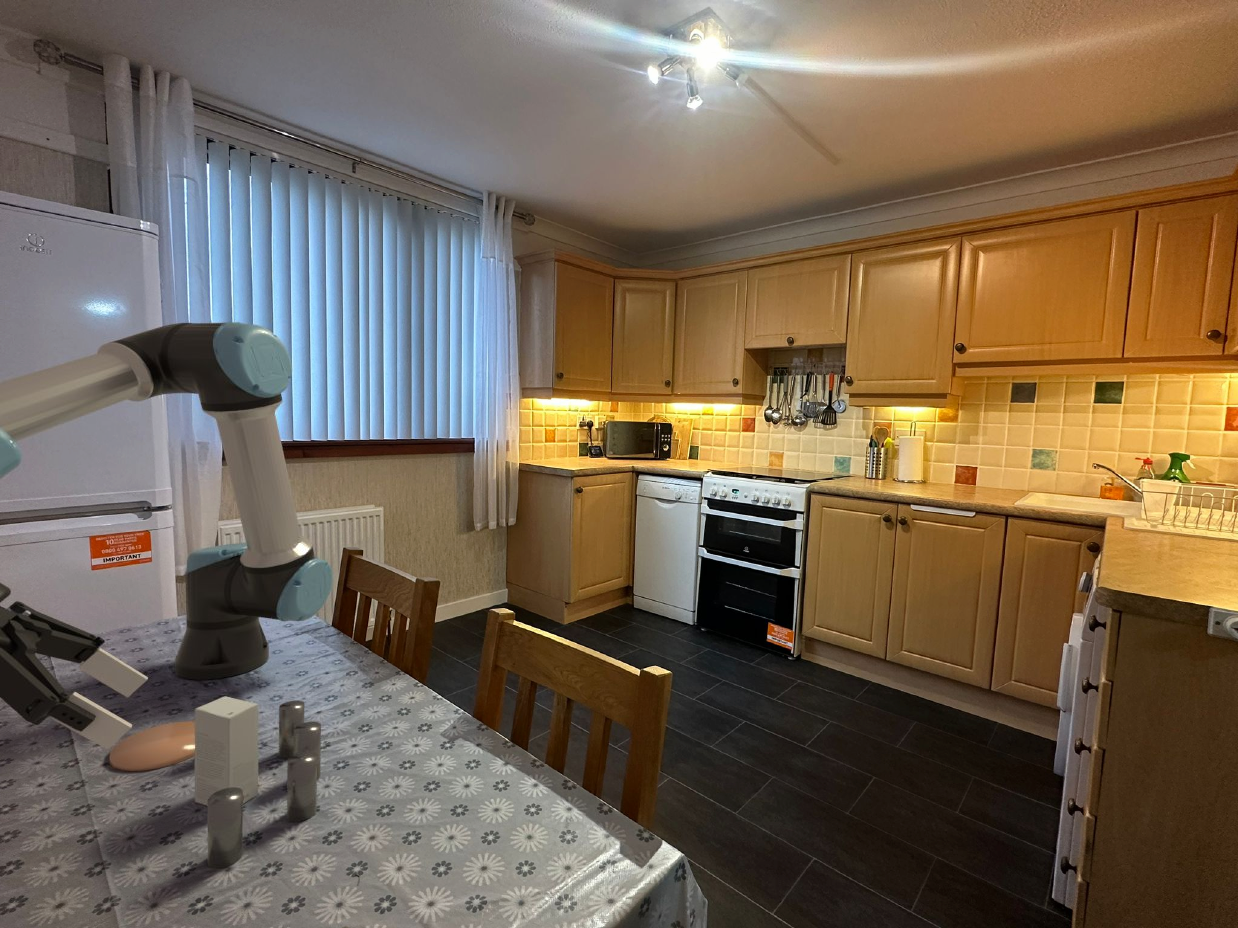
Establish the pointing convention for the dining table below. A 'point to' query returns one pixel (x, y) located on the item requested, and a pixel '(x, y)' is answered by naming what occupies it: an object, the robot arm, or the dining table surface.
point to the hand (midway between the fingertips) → (130, 710)
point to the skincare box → (226, 748)
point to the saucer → (155, 747)
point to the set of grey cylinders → (302, 776)
